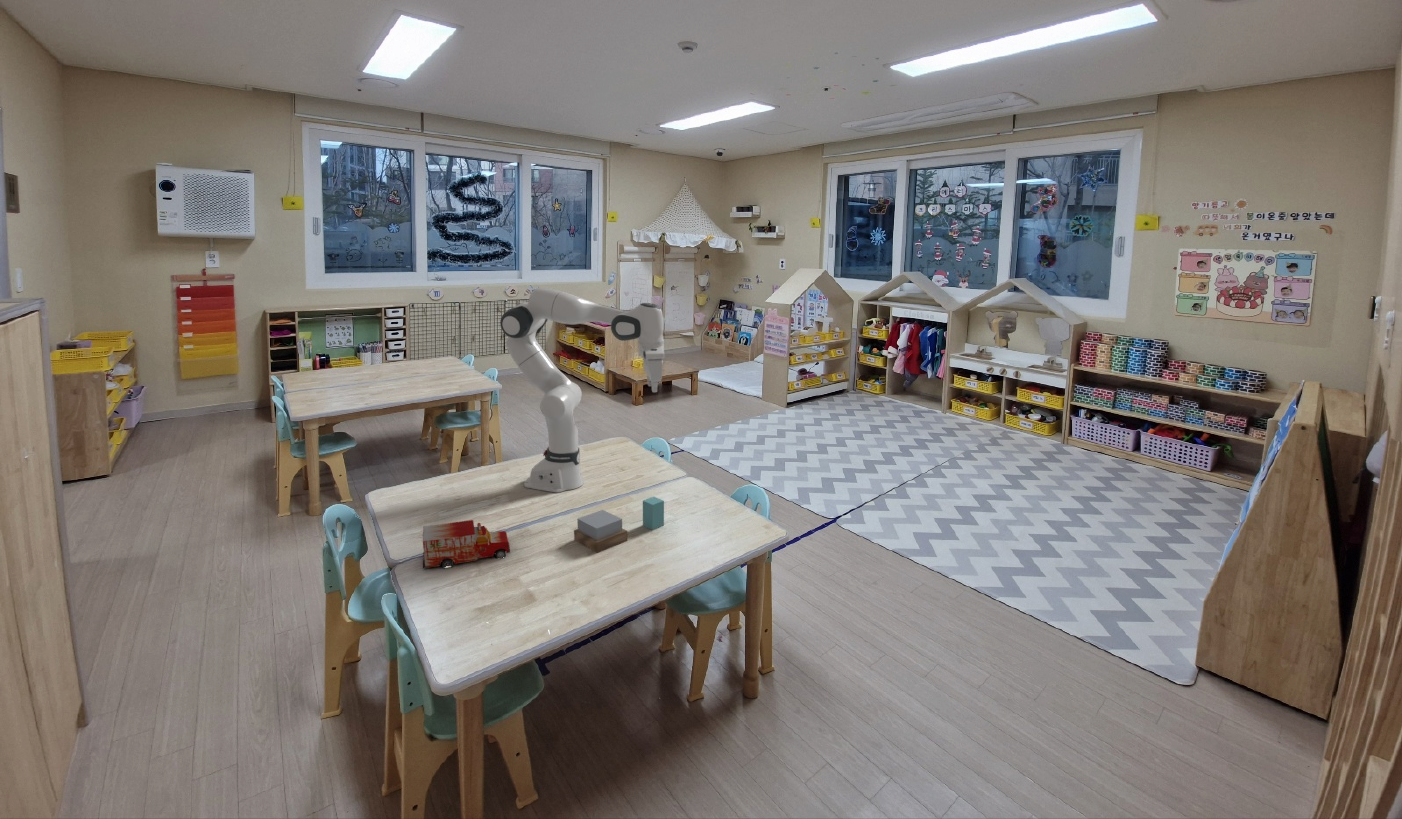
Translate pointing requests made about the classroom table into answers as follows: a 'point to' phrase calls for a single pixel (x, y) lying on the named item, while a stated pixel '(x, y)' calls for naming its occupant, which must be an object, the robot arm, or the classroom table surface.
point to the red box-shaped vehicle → (461, 543)
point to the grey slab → (599, 524)
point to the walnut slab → (602, 543)
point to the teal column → (653, 513)
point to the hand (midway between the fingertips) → (652, 388)
